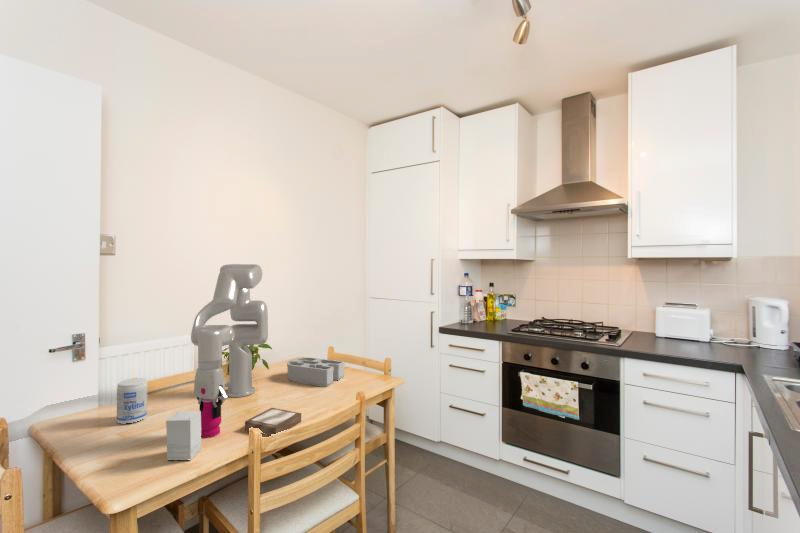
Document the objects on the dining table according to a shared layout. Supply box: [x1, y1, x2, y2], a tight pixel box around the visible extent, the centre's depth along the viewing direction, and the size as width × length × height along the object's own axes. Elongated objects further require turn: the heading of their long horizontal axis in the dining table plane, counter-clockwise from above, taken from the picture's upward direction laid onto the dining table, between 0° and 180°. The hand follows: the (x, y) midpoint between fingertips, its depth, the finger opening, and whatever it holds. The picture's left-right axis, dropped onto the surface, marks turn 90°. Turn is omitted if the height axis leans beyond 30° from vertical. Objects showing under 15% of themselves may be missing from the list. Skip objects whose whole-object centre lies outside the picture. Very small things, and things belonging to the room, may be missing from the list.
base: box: [244, 407, 302, 436], centre depth 142 cm, size 14×14×3 cm
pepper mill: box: [201, 388, 222, 438], centre depth 135 cm, size 7×7×20 cm
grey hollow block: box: [286, 357, 346, 388], centre depth 198 cm, size 17×28×9 cm, turn 68°
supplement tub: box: [116, 377, 148, 425], centre depth 147 cm, size 10×10×15 cm
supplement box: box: [165, 410, 202, 461], centre depth 121 cm, size 7×7×13 cm
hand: (210, 415), depth 135 cm, fingers closed on pepper mill, 5 cm apart
